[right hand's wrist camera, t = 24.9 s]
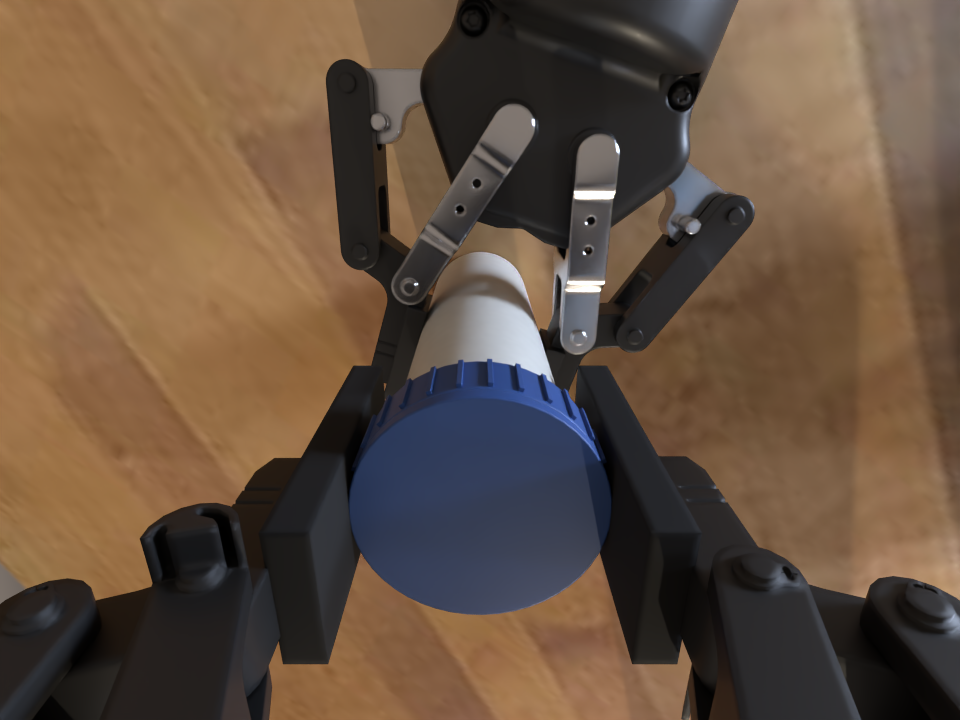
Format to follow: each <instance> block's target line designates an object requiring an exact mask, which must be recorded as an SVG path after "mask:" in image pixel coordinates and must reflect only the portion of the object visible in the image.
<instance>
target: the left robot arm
mask: <svg viewBox="0 0 960 720" xmlns="http://www.w3.org/2000/svg"><path fill="white" fill-rule="evenodd" d="M737 2H738V0H459V1H458V5H457V9H456V13H455V16H454V20H453V22H452V25H451V27H450V29H449V31H448V33H447V35H446V37H445V38H444V40H443V41H442V42H441V44H440V45H439V46H438V47H437V48H436V49H435V51H434V52H433V53H432V54H431V55H430V56H429V58H428V59H427V61H426V62H425V64H424V67H423V69H367V68H364V67H363V66H361V65H360V64H358V63H356V62H355V61H352V60H349V59H342V60H338V61H336V62H335V63H333V64H332V65H331V67H330V68H329V70H328V72H327V76H326V88H327V99H328V110H329V121H330V132H331V144H332V155H333V166H334V177H335V188H336V200H337V211H338V222H339V233H340V244H341V253H342V257H343V259H344V261H345V262H346V263H347V264H348V265H349V266H350V267H352V268H354V269H357V270H364V271H365V272H367V273H368V274H369V275H371V276H372V277H374V278H375V279H376V280H378V281H379V282H380V283H381V284H382V285H383V287H384V288H385V290H386V293H387V298H388V302H387V307H386V311H385V315H384V319H383V322H382V326H381V330H380V334H379V338H378V342H377V346H376V350H375V353H374V357H373V361H372V365H371V366H382V367H383V381H384V383H387V384H386V388H385V392H384V395H385V399H386V397H387V396H388V395H391V396H393V395H394V394H395V393H396V392H397V391H399V390H400V389H401V388H402V387H403V386H404V385H405V383H406V380H407V377H408V374H409V371H410V368H411V365H412V361H413V358H414V355H415V352H416V348H417V345H418V342H419V339H420V336H421V333H422V330H423V327H424V324H425V321H426V317H427V314H428V311H429V307H430V304H431V300H432V297H433V295H429V294H428V292H429V291H430V289H431V288H432V286H433V285H434V283H435V282H436V280H437V279H438V277H439V276H440V274H441V273H442V271H443V270H444V268H445V267H446V265H447V264H448V262H449V261H450V259H451V258H452V256H453V255H454V254H455V253H456V251H457V250H458V249H459V247H460V246H461V244H462V243H463V241H464V240H465V238H466V237H467V235H468V234H469V232H470V231H471V229H472V228H473V226H474V225H475V223H476V222H477V221H478V222H481V223H484V224H487V225H490V226H494V227H497V228H519V229H524V230H526V231H527V232H529V233H530V234H532V235H533V236H535V237H536V238H538V239H539V240H541V241H543V242H544V243H547V244H550V245H553V246H554V255H553V265H554V286H553V303H552V319H551V322H550V324H549V327H548V330H544V329H541V328H540V331H539V334H540V338H541V341H542V344H543V347H544V350H545V354H546V357H547V360H548V363H549V367H550V370H551V373H552V376H553V379H554V383H555V385H556V386H557V387H558V388H559V389H561V390H563V389H564V388H565V389H566V390H567V391H569V389H570V386H571V384H572V381H573V379H574V377H575V374H576V372H577V369H578V366H579V364H580V362H581V360H582V359H583V357H584V356H585V355H586V354H587V353H589V352H590V351H592V350H594V349H598V348H611V347H620V348H621V349H623V350H624V351H626V352H630V353H635V352H639V351H642V350H643V349H645V348H646V347H647V346H648V345H649V344H650V343H651V341H652V340H653V339H654V338H655V337H656V336H657V334H658V333H659V332H660V331H661V330H662V329H663V327H664V326H665V325H666V324H667V323H668V321H669V320H670V319H671V318H672V317H673V316H674V314H675V313H676V312H677V311H678V310H679V309H680V307H681V306H682V305H683V304H684V303H685V301H686V300H687V299H688V298H689V297H690V296H691V294H692V293H693V292H694V291H695V290H696V289H697V287H698V286H699V285H700V284H701V283H702V281H703V280H704V279H705V278H706V277H707V276H708V274H709V273H710V272H711V271H712V270H713V269H714V267H715V266H716V265H717V264H718V263H719V261H720V260H721V259H722V258H723V257H724V256H725V254H726V253H727V252H728V251H729V250H730V249H731V247H732V246H733V245H734V244H735V243H736V242H737V240H738V239H739V238H740V237H741V236H742V234H743V233H744V232H745V231H746V230H747V229H748V227H749V226H750V225H751V223H752V221H753V219H754V214H755V210H754V206H753V204H752V202H751V201H750V200H749V199H748V198H746V197H744V196H740V195H736V194H734V193H730V192H725V191H724V190H722V189H721V188H720V187H719V186H717V185H716V184H715V183H714V182H712V181H711V180H710V179H709V178H707V177H706V176H705V175H704V174H702V173H701V172H700V171H699V170H697V169H696V168H695V167H694V166H692V165H691V164H690V163H689V162H688V159H689V154H690V139H689V124H690V117H691V112H692V109H693V106H694V103H695V101H696V99H697V97H698V95H699V92H700V90H701V88H702V86H703V84H704V82H705V79H706V77H707V75H708V72H709V70H710V67H711V65H712V63H713V60H714V58H715V55H716V53H717V50H718V48H719V46H720V43H721V41H722V38H723V36H724V33H725V31H726V29H727V26H728V24H729V21H730V19H731V17H732V14H733V12H734V9H735V7H736V5H737ZM421 105H424V107H425V110H426V113H427V116H428V119H429V122H430V125H431V128H432V131H433V134H434V137H435V140H436V143H437V145H438V148H439V151H440V154H441V157H442V160H443V163H444V166H445V169H446V172H447V175H448V178H449V181H450V184H451V186H450V188H449V189H448V191H447V193H446V194H445V196H444V197H443V199H442V201H441V202H440V204H439V205H438V207H437V208H436V210H435V212H434V213H433V215H432V216H431V218H430V220H429V221H428V223H427V224H426V226H425V228H424V229H423V231H422V232H421V234H420V236H419V237H418V239H417V240H416V242H415V244H414V245H413V247H412V248H411V249H410V248H408V247H407V246H406V245H404V244H403V243H401V242H400V241H399V240H397V239H396V238H395V237H393V236H392V235H391V234H390V216H389V198H388V180H387V162H386V144H392V143H395V142H397V141H398V140H400V138H401V137H402V136H403V134H404V132H405V128H406V120H407V117H408V115H409V113H410V112H411V111H412V110H413V109H414V108H416V107H418V106H421ZM663 190H664V191H665V194H666V203H665V206H664V209H663V210H662V212H661V214H660V216H659V221H658V224H659V228H660V231H661V232H662V233H663V234H662V236H661V237H660V238H659V239H658V241H657V242H656V243H655V244H654V246H653V247H652V248H651V249H650V251H649V252H648V253H647V254H646V256H645V257H644V258H643V259H642V261H641V262H640V263H639V264H638V266H637V267H636V268H635V270H634V271H633V272H632V273H631V275H630V276H629V277H628V278H627V280H626V281H625V282H624V283H623V285H622V286H621V287H620V288H619V290H618V291H617V292H616V293H615V295H614V296H613V297H612V298H611V300H610V301H609V302H608V303H599V302H600V293H601V289H602V287H603V286H604V283H605V277H606V267H607V257H608V247H609V236H610V228H611V227H612V226H614V225H615V224H617V223H618V222H619V221H621V220H622V219H624V218H625V217H626V216H628V215H629V214H631V213H632V212H633V211H635V210H636V209H638V208H639V207H640V206H642V205H643V204H645V203H646V202H647V201H649V200H650V199H652V198H653V197H654V196H656V195H657V194H659V193H660V192H661V191H663Z"/></svg>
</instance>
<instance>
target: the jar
mask: <svg viewBox="0 0 960 720" xmlns="http://www.w3.org/2000/svg"><path fill="white" fill-rule="evenodd" d="M487 359H492V362H498V363H504V364H510V365H513V366H515V363H517V364H520V365H521V368H523V369H526V370H529V371H531V372H533V373H535V374H538V375H541V374H542V373H543V374H544V375H546V377H547V380H548V381H550V382H552V383H553V384H554V385H555V383H554V379H553V376H552V373H551V370H550V367H549V363H548V360H547V357H546V354H545V350H544V347H543V344H542V341H541V338H540V334H539V331H538V328H537V325H536V321H535V318H534V315H533V312H532V309H531V305H530V302H529V299H528V296H527V292H526V289H525V286H524V283H523V280H522V278H521V276H520V274H519V272H518V271H517V270H516V268H515V267H514V266H513V265H512V264H511V263H510V262H508V261H507V260H506V259H504V258H502V257H500V256H498V255H495V254H492V253H487V252H474V253H469V254H465V255H463V256H460V257H458V258H457V259H455V260H453V261H452V262H451V263H450V264H449V265H448V266H447V267H446V268H445V269H444V270H443V272H442V273H441V275H440V277H439V279H438V281H437V284H436V287H435V290H434V294H433V297H432V300H431V304H430V307H429V311H428V314H427V317H426V321H425V324H424V327H423V330H422V333H421V336H420V339H419V342H418V345H417V348H416V352H415V355H414V358H413V361H412V365H411V368H410V371H409V374H408V377H407V380H408V379H409V378H411V379H412V380H414V379H415V378H417V377H419V376H421V375H423V374H425V373H427V372H429V371H430V369H431V367H434V366H436V368H440V367H443V366H447V365H452V364H457V363H458V360H464V362H474V361H484V362H487Z"/></svg>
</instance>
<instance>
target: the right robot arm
mask: <svg viewBox="0 0 960 720" xmlns="http://www.w3.org/2000/svg"><path fill="white" fill-rule="evenodd" d="M384 402H385V395H384V381H383V367H382V366H353V368H352V369H351V371H350V373H349V375H348V376H347V378H346V380H345V382H344V383H343V385H342V387H341V389H340V390H339V392H338V394H337V396H336V397H335V399H334V401H333V403H332V404H331V406H330V408H329V410H328V412H327V413H326V415H325V417H324V419H323V420H322V422H321V424H320V426H319V427H318V429H317V431H316V433H315V434H314V436H313V438H312V440H311V441H310V443H309V445H308V447H307V448H306V450H305V452H304V454H303V455H302V457H301V458H274V459H273V460H271V461H270V462H268V463H267V464H266V465H264V466H263V467H261V468H260V469H259V470H257V471H256V472H255V473H254V475H253V476H252V478H251V479H250V481H249V482H248V483H247V485H246V486H245V490H244V491H242V492H241V494H240V495H239V497H238V498H237V500H236V503H235V504H233V505H232V507H230V506H227V505H223V504H219V503H202V504H196V505H192V506H188V507H184V508H180V509H178V510H176V511H174V512H171V513H169V514H167V515H165V516H163V517H162V518H160V519H159V520H157V521H156V522H155V523H153V524H152V525H150V526H149V527H148V528H147V530H146V531H145V532H144V534H143V535H142V536H141V538H140V541H141V544H142V548H143V551H144V555H145V558H146V562H147V565H148V569H149V572H150V575H151V579H152V582H153V584H152V586H151V587H149V588H146V589H142V590H139V591H135V592H131V593H126V594H122V595H118V596H113V597H109V598H105V599H100V600H96V601H95V598H94V595H93V592H92V589H91V587H90V586H88V585H87V584H86V583H85V582H84V581H82V580H75V579H68V578H67V579H60V580H53V581H48V582H45V583H42V584H39V585H36V586H33V587H30V588H27V589H25V590H23V591H22V592H20V593H18V594H16V595H14V596H12V597H10V598H9V599H7V600H5V601H4V602H2V603H1V604H0V720H269V714H270V704H271V693H272V683H271V676H270V671H269V663H270V661H271V658H272V656H273V653H274V651H275V649H276V646H277V644H278V641H279V645H280V650H281V656H282V661H283V664H328V663H329V659H330V656H331V652H332V649H333V645H334V642H335V639H336V635H337V632H338V628H339V625H340V621H341V618H342V615H343V611H344V608H345V604H346V601H347V597H348V594H349V591H350V587H351V584H352V580H353V577H354V573H355V570H356V567H357V563H358V560H359V556H360V553H361V551H360V549H359V548H358V546H357V544H356V541H355V538H354V536H353V533H352V530H351V524H350V516H349V506H348V498H349V488H350V485H351V481H352V477H353V474H354V472H353V471H351V469H352V466H353V463H354V461H355V458H356V456H357V453H358V451H359V448H360V446H361V443H362V441H363V438H364V436H365V433H366V431H367V428H368V426H369V423H370V421H371V418H372V416H373V415H376V416H377V415H378V414H379V412H380V411H381V409H382V407H383V405H384ZM575 404H576V406H577V407H578V409H580V408H581V407H582V408H583V409H584V411H585V414H586V416H587V419H588V421H589V424H590V426H591V429H594V431H595V433H596V436H597V438H598V441H599V443H600V446H601V448H602V451H603V453H604V456H605V458H606V461H607V463H604V464H603V465H604V468H605V470H606V473H607V476H608V479H609V483H610V488H611V494H612V510H611V519H610V528H609V531H608V534H607V537H606V540H605V542H604V544H603V546H602V548H601V550H600V555H601V559H602V562H603V565H604V569H605V572H606V576H607V579H608V583H609V586H610V589H611V593H612V596H613V600H614V603H615V607H616V610H617V613H618V617H619V620H620V624H621V627H622V631H623V634H624V637H625V641H626V644H627V648H628V651H629V655H630V658H631V661H632V664H677V663H678V658H679V652H680V647H681V642H682V640H683V643H684V645H685V647H686V650H687V652H688V655H689V657H690V660H691V662H692V666H691V671H690V676H689V681H688V686H687V691H686V696H685V700H684V705H683V712H682V720H689V717H690V712H691V720H960V601H959V600H958V599H957V598H955V597H953V596H951V595H950V594H948V593H946V592H944V591H942V590H940V589H938V588H937V587H935V586H932V585H929V584H926V583H923V582H920V581H917V580H914V579H909V578H902V577H895V576H891V577H885V578H878V579H877V580H876V581H875V582H874V583H873V584H871V585H870V588H869V590H868V593H867V596H866V598H861V597H857V596H853V595H848V594H844V593H839V592H835V591H831V590H826V589H822V588H819V587H816V586H812V585H809V584H808V583H807V581H806V580H805V578H804V577H803V575H802V574H801V572H800V571H799V570H798V569H797V568H796V567H795V566H794V565H792V564H791V563H790V562H789V561H787V560H786V559H785V558H783V557H781V556H779V555H777V554H775V553H773V552H771V551H769V550H766V549H763V548H759V547H758V546H757V545H756V543H755V542H754V540H753V539H752V537H751V536H750V534H749V533H748V532H747V530H746V529H745V527H744V526H743V524H742V523H741V521H740V520H739V518H738V517H737V516H736V514H735V513H734V511H733V510H732V508H731V507H730V505H729V504H728V503H727V502H725V498H724V497H723V495H722V494H721V492H720V491H719V489H716V485H715V484H714V482H713V481H712V479H711V478H710V476H709V475H708V473H707V472H706V471H705V470H704V469H703V468H702V467H700V466H699V465H697V464H696V463H695V462H693V461H692V460H690V459H689V458H688V457H686V456H658V455H657V453H656V451H655V450H654V448H653V446H652V444H651V443H650V441H649V439H648V437H647V436H646V434H645V432H644V430H643V428H642V427H641V425H640V423H639V421H638V420H637V418H636V416H635V414H634V413H633V411H632V409H631V407H630V406H629V404H628V402H627V400H626V399H625V397H624V395H623V393H622V392H621V390H620V388H619V386H618V385H617V383H616V381H615V379H614V377H613V376H612V374H611V372H610V370H609V369H608V367H607V366H578V372H577V386H576V399H575Z"/></svg>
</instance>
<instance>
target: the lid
mask: <svg viewBox="0 0 960 720" xmlns="http://www.w3.org/2000/svg"><path fill="white" fill-rule="evenodd" d="M604 463H607V461H606V458H605V456H604V453H603V451H602V448H601V446H600V443H599V441H598V438H597V436H596V433H595V431H594V429H591V426H590V424H589V421H588V419H587V416H586V414H585V411H584V409H583V408H582V407H581V408H580V409H578V407H577V406H576V404H575V403H574V402H573V401H572V400H571V399H570V396H569V393H568V391H567V390H566V389H565V388H564V389H563V390H561V389H559V388H558V387H557V386H556V385H554V384H553V383H552V382H550V381H548V380H547V377H546V375H544V374H543V373H542V374H541V375H538V374H535V373H533V372H531V371H529V370H526V369H523V368H521V365H520V364H517V363H515V366H513V365H510V364H504V363H498V362H492V359H487V362H484V361H474V362H464V360H458V363H457V364H452V365H447V366H443V367H440V368H436V366H434V367H431V369H430V371H429V372H427V373H425V374H423V375H421V376H419V377H417V378H415V379H414V380H412V379H411V378H409V379H408V380H406V383H405V385H404V386H403V387H402V388H401V389H400V390H399V391H397V392H396V393H395V394H394V395H393V396H391V395H388V396H387V397H386V400H385V402H384V405H383V407H382V409H381V411H380V412H379V414H378V415H377V416H376V415H373V416H372V418H371V421H370V423H369V426H368V428H367V431H366V433H365V436H364V438H363V441H362V443H361V446H360V448H359V451H358V453H357V456H356V458H355V461H354V463H353V466H352V469H351V471H353V472H354V474H353V477H352V481H351V485H350V488H349V498H348V506H349V516H350V524H351V530H352V533H353V536H354V538H355V541H356V544H357V546H358V548H359V549H360V551H361V553H362V555H363V557H364V558H365V560H366V561H367V562H368V564H369V565H370V566H371V568H372V569H373V570H374V571H375V572H376V573H377V574H378V575H379V576H380V577H381V578H382V579H383V580H384V581H385V582H387V583H388V584H389V585H390V586H392V587H393V588H394V589H396V590H397V591H399V592H401V593H402V594H404V595H405V596H407V597H409V598H411V599H413V600H415V601H417V602H419V603H422V604H424V605H427V606H430V607H433V608H436V609H440V610H444V611H448V612H454V613H461V614H474V615H487V614H500V613H506V612H512V611H516V610H520V609H524V608H528V607H531V606H533V605H536V604H538V603H541V602H543V601H545V600H547V599H549V598H551V597H553V596H555V595H557V594H558V593H560V592H561V591H563V590H564V589H566V588H567V587H569V586H570V585H571V584H573V583H574V582H575V581H576V580H577V579H578V578H580V577H581V576H582V574H583V573H584V572H585V571H586V570H587V569H588V568H589V567H590V566H591V564H592V563H593V561H594V560H595V558H596V557H597V556H598V554H599V552H600V550H601V548H602V546H603V544H604V542H605V540H606V537H607V534H608V531H609V528H610V519H611V510H612V494H611V488H610V483H609V479H608V476H607V473H606V470H605V468H604V465H603V464H604Z"/></svg>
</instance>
